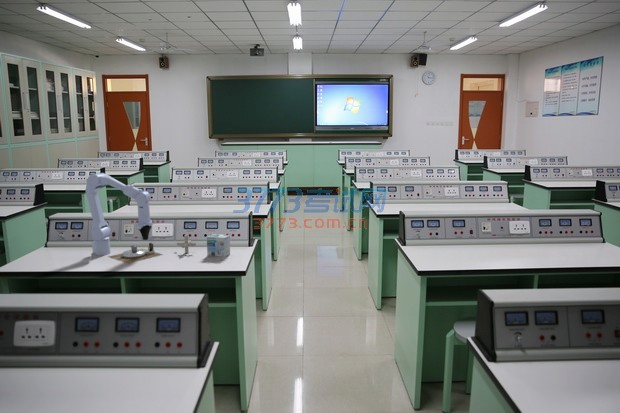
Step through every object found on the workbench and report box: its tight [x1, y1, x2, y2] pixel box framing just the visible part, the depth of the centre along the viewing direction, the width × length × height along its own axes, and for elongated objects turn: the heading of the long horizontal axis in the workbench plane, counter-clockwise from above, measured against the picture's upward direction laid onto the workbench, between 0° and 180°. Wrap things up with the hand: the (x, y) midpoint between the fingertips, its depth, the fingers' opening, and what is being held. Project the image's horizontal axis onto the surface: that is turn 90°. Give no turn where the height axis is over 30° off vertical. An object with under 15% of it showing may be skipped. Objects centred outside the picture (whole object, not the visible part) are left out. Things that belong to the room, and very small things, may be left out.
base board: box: [108, 248, 164, 265], centre depth 234 cm, size 20×20×1 cm
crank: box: [121, 242, 156, 258], centre depth 234 cm, size 16×12×6 cm
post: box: [130, 244, 138, 253], centre depth 233 cm, size 3×3×3 cm
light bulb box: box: [206, 233, 231, 258], centre depth 238 cm, size 11×7×11 cm, turn 76°
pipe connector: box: [176, 234, 197, 254], centre depth 242 cm, size 10×10×10 cm
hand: (145, 239), depth 235 cm, fingers closed
